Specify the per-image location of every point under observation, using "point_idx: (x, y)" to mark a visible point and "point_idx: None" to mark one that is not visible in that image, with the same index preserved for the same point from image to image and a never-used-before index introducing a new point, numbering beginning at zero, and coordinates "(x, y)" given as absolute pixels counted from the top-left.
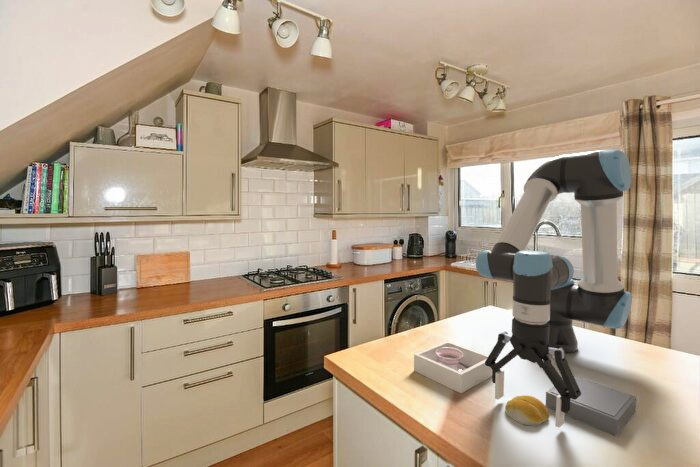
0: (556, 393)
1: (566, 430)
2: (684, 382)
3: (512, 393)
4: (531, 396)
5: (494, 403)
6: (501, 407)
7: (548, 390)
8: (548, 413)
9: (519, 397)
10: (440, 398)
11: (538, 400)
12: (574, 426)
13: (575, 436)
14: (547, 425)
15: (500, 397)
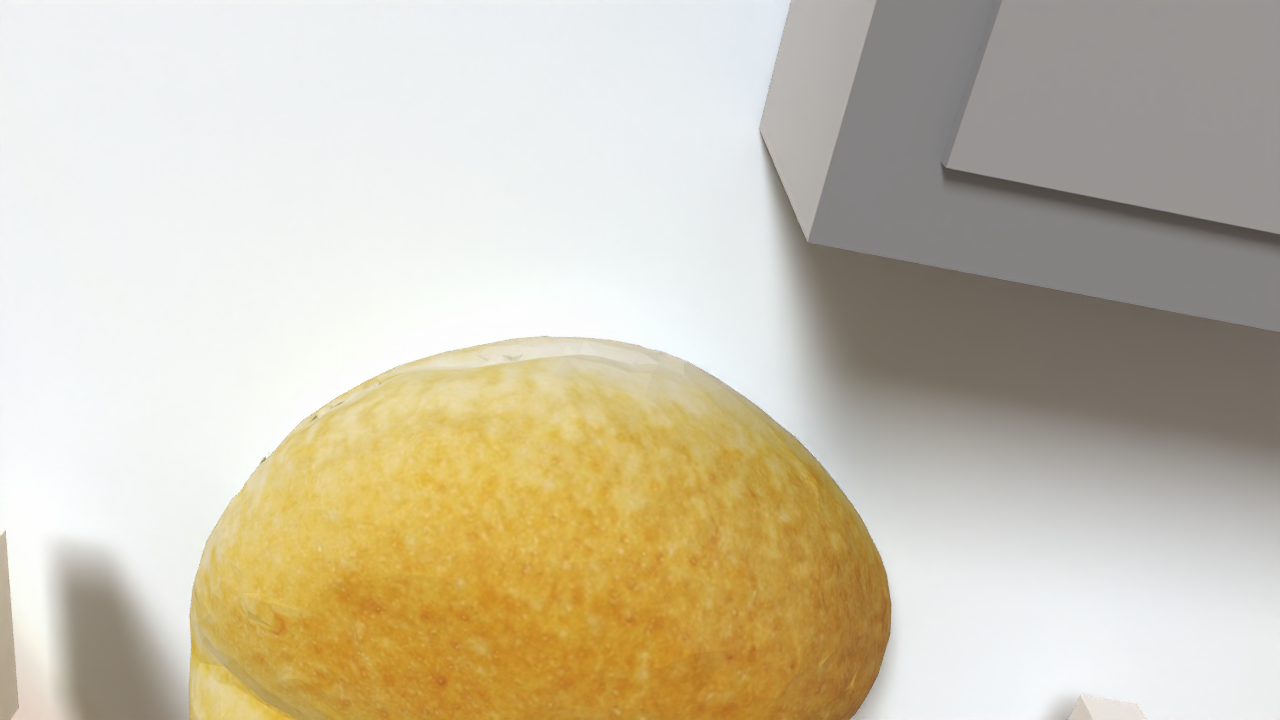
0: (1100, 184)
1: (1125, 652)
2: None
3: (6, 38)
4: (533, 617)
5: None
6: (153, 661)
7: (858, 85)
8: (888, 638)
9: (329, 700)
10: None
11: (706, 682)
12: (1255, 487)
13: (1235, 709)
14: None
15: (6, 634)
